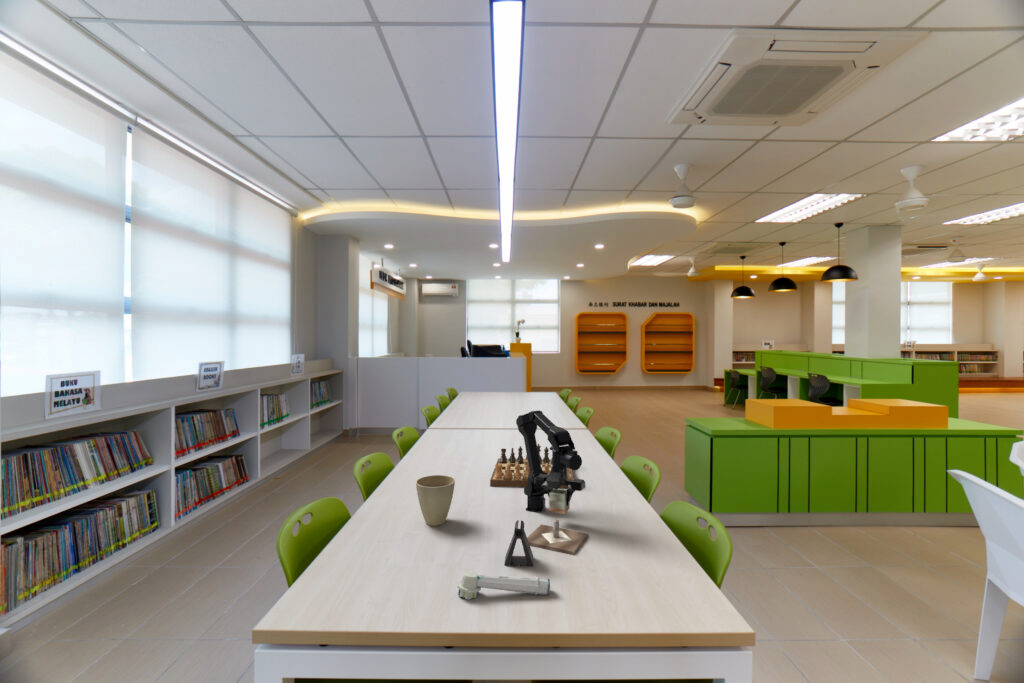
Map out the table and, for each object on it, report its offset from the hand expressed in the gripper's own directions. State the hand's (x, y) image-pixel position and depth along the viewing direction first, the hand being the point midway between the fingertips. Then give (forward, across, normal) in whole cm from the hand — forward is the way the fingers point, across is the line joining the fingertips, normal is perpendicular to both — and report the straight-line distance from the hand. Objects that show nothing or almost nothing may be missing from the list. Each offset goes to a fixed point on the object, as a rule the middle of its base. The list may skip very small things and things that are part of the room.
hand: (559, 504), depth 176 cm
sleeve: (+2, 0, 0) cm, 2 cm away
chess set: (+8, -34, +54) cm, 64 cm away
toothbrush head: (+8, +3, -53) cm, 53 cm away
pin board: (+7, +4, -14) cm, 16 cm away
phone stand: (+8, -1, -34) cm, 35 cm away
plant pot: (+8, -43, -20) cm, 48 cm away
